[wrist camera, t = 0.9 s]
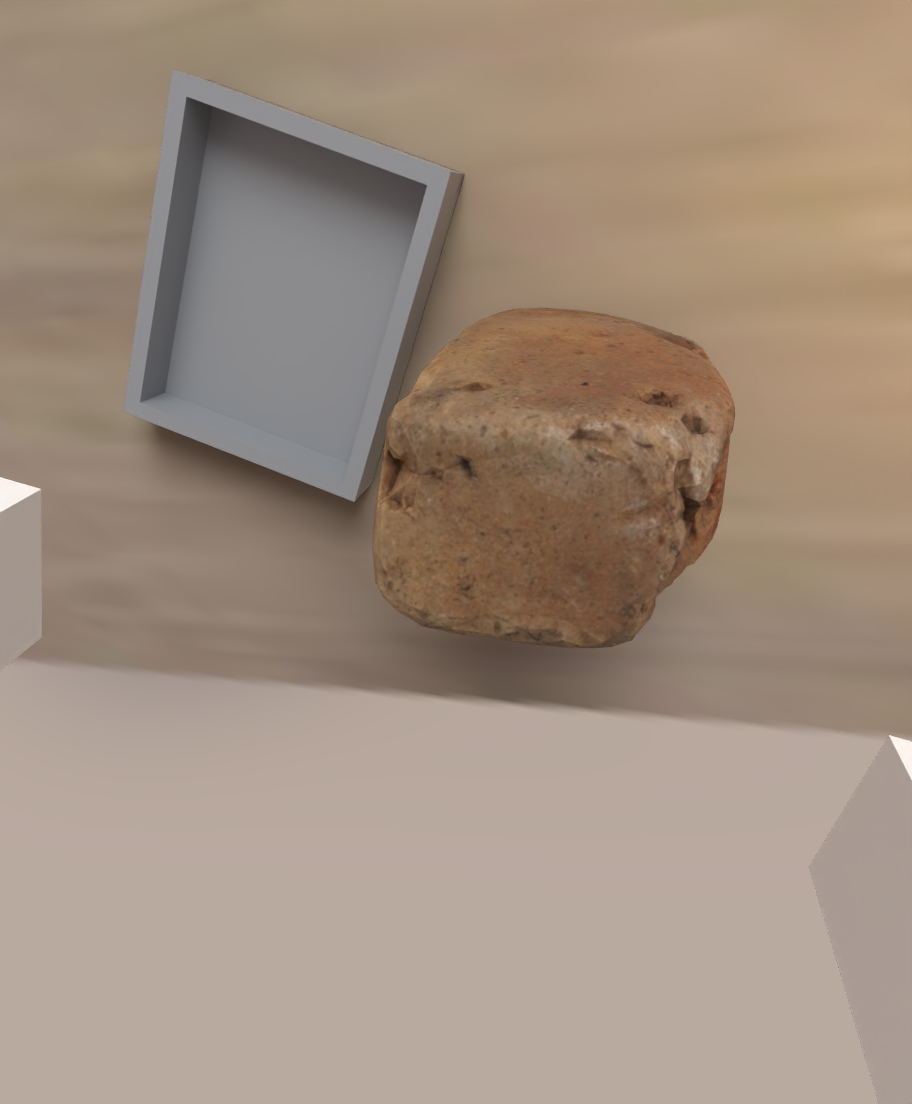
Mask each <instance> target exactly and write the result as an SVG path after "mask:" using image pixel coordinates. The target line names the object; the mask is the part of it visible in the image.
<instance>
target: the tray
mask: <svg viewBox="0 0 912 1104" xmlns="http://www.w3.org/2000/svg"><path fill="white" fill-rule="evenodd" d="M464 175H465V174H463V173H460V172H457V171H455V170H452V169H449V168H446V167H444V166H441V165H438V164H435V163H433V162H430V161H427V160H425V159H422V158H419V157H416V156H414V155H411V154H408V153H405V152H403V151H400V150H397V149H395V148H392V147H389V146H386V145H384V144H381V143H378V142H375V141H373V140H370V139H367V138H365V137H362V136H359V135H356V134H354V133H351V132H348V131H346V130H343V129H340V128H337V127H335V126H332V125H329V124H326V123H324V122H321V121H318V120H316V119H313V118H310V117H307V116H305V115H302V114H299V113H296V112H294V111H291V110H288V109H286V108H283V107H280V106H277V105H275V104H272V103H269V102H266V101H264V100H261V99H258V98H256V97H253V96H250V95H247V94H245V93H242V92H239V91H236V90H234V89H231V88H228V87H226V86H223V85H220V84H217V83H215V82H212V81H209V80H206V79H203V78H200V77H196V76H193V75H190V74H186V73H183V72H180V71H176V70H173V69H172V75H171V82H170V89H169V96H168V103H167V110H166V117H165V124H164V131H163V138H162V145H161V152H160V158H159V165H158V172H157V179H156V186H155V193H154V200H153V207H152V214H151V221H150V228H149V235H148V242H147V249H146V256H145V263H144V270H143V277H142V284H141V291H140V298H139V305H138V312H137V318H136V325H135V332H134V339H133V346H132V353H131V360H130V367H129V374H128V381H127V388H126V395H125V402H124V409H123V412H125V413H128V414H130V415H133V416H136V417H138V418H141V419H143V420H146V421H148V422H151V423H153V424H156V425H159V426H161V427H164V428H166V429H169V430H171V431H174V432H176V433H179V434H182V435H184V436H187V437H189V438H192V439H194V440H197V441H200V442H202V443H205V444H207V445H210V446H212V447H215V448H217V449H220V450H223V451H225V452H228V453H230V454H233V455H235V456H238V457H240V458H243V459H246V460H248V461H251V462H253V463H256V464H258V465H261V466H264V467H266V468H269V469H271V470H274V471H276V472H279V473H281V474H284V475H287V476H289V477H292V478H294V479H297V480H299V481H302V482H304V483H307V484H310V485H312V486H315V487H317V488H320V489H322V490H325V491H328V492H330V493H333V494H335V495H338V496H340V497H343V498H345V499H348V500H351V501H353V502H355V501H356V500H357V499H358V498H359V497H360V496H361V494H362V493H363V492H364V491H365V490H366V489H367V488H368V487H369V486H370V485H371V484H372V482H373V478H374V475H375V472H376V468H377V465H378V462H379V458H380V455H381V452H382V448H383V445H384V442H385V438H386V429H387V420H388V418H389V416H390V414H391V413H392V411H393V409H394V407H395V405H396V402H397V398H398V395H399V392H400V388H401V385H402V382H403V378H404V375H405V372H406V368H407V365H408V362H409V358H410V355H411V352H412V348H413V345H414V341H415V338H416V335H417V331H418V328H419V325H420V321H421V318H422V315H423V311H424V308H425V305H426V301H427V298H428V295H429V291H430V288H431V285H432V281H433V278H434V275H435V271H436V268H437V265H438V261H439V258H440V255H441V251H442V248H443V245H444V241H445V238H446V235H447V231H448V228H449V225H450V221H451V218H452V215H453V211H454V208H455V205H456V201H457V198H458V195H459V191H460V188H461V185H462V181H463V178H464Z"/></svg>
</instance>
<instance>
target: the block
mask: <svg viewBox="0 0 912 1104" xmlns="http://www.w3.org/2000/svg"><path fill="white" fill-rule="evenodd" d="M734 418H735V406H734V403H733V399H732V397H731V394H730V391H729V389H728V387H727V385H726V383H725V381H724V379H723V378H722V377H721V375H720V374H719V372H718V371H717V369H716V368H715V367H714V366H713V365H712V364H711V361H710V359H709V357H708V356H707V355H706V353H705V351H704V350H703V348H702V347H700V346H699V345H698V344H696V343H695V342H693V341H691V340H689V339H687V338H685V337H681V336H677V335H673V334H672V333H670V332H666V331H663V330H660V329H657V328H654V327H651V326H648V325H645V324H642V323H638V322H635V321H631V320H627V319H623V318H618V317H614V316H610V315H605V314H599V313H593V312H587V311H579V310H567V309H552V308H525V309H512V310H507V311H504V312H500V313H497V314H494V315H491V316H489V317H487V318H485V319H482V320H480V321H478V322H476V323H475V324H473V325H471V326H470V327H468V328H466V329H465V330H464V331H463V332H462V333H461V334H460V335H459V336H458V337H457V338H456V339H455V340H453V341H452V342H450V343H449V344H448V345H447V346H446V347H444V348H443V349H442V350H441V351H440V352H439V353H438V354H437V355H436V356H434V358H433V359H432V361H431V362H430V363H429V364H428V365H427V367H426V368H425V369H424V370H423V371H422V372H421V374H420V375H419V377H418V379H417V381H416V383H415V384H414V386H413V388H412V390H411V392H410V393H409V395H408V396H407V397H405V398H404V399H402V400H401V401H400V402H398V403H397V404H396V405H395V407H394V409H393V411H392V413H391V414H390V416H389V418H388V420H387V429H386V439H385V446H384V453H383V461H382V467H381V474H380V480H379V487H378V493H377V499H376V507H375V518H374V533H373V557H374V569H375V581H376V584H377V586H378V588H379V589H380V591H381V593H382V595H383V597H384V598H385V599H386V600H387V601H388V602H389V603H390V604H391V605H392V606H393V607H394V608H395V609H396V610H397V611H398V612H400V613H402V614H404V615H406V616H407V617H409V618H410V619H412V620H413V621H415V622H417V623H418V624H420V625H421V626H425V627H429V628H434V629H439V630H443V631H448V632H453V633H457V634H463V635H479V636H488V637H494V638H499V639H505V640H510V641H516V642H522V643H531V644H540V645H549V646H558V647H571V648H599V647H612V646H615V645H618V644H621V643H624V642H627V641H631V640H632V639H633V638H634V637H635V635H636V634H637V633H638V631H639V630H640V629H641V628H642V627H643V626H644V624H645V623H646V622H647V621H648V620H649V619H650V618H651V616H652V613H653V610H654V608H655V598H656V596H657V595H659V594H660V593H661V592H662V591H663V590H664V589H665V588H666V587H667V586H669V585H671V584H672V583H673V581H674V579H676V578H677V577H678V576H679V575H680V574H681V573H682V572H683V570H684V569H685V568H686V567H687V566H689V565H691V564H693V563H694V562H695V561H696V560H697V559H698V558H699V557H700V556H701V554H702V553H703V551H704V550H705V548H706V547H707V545H708V544H709V543H710V541H711V540H712V538H713V535H714V533H715V531H716V528H717V525H718V521H719V516H720V513H721V509H722V502H723V494H724V486H725V478H726V470H727V462H728V453H729V443H730V434H731V433H732V431H733V425H734Z"/></svg>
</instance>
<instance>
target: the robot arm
mask: <svg viewBox="0 0 912 1104" xmlns="http://www.w3.org/2000/svg"><path fill="white" fill-rule="evenodd" d="M41 637H42V594H41V489H38V488H35V487H32V486H28V485H25V484H21V483H18V482H14V481H11V480H7V479H4V478H1V477H0V671H1V670H2V669H4V668H5V667H6V666H7V665H9V664H10V663H11V662H12V661H13V660H15V659H16V658H17V657H18V656H19V655H21V654H22V653H23V652H24V651H25V650H27V649H28V648H29V647H30V646H31V645H33V644H34V643H35V642H36V641H38V640H39V639H40V638H41ZM809 869H810V872H811V875H812V879H813V883H814V886H815V889H816V893H817V896H818V900H819V903H820V906H821V910H822V913H823V916H824V920H825V923H826V927H827V930H828V933H829V937H830V940H831V944H832V947H833V951H834V954H835V958H836V961H837V964H838V968H839V971H840V975H841V978H842V981H843V985H844V988H845V992H846V995H847V998H848V1002H849V1005H850V1008H851V1012H852V1015H853V1019H854V1022H855V1025H856V1029H857V1032H858V1036H859V1039H860V1043H861V1046H862V1049H863V1053H864V1056H865V1060H866V1063H867V1067H868V1070H869V1073H870V1077H871V1080H872V1084H873V1087H874V1090H875V1094H876V1097H877V1101H878V1104H912V742H911V741H907V740H904V739H900V738H897V737H893V736H890V735H889V736H888V738H887V739H886V741H885V743H884V744H883V746H882V748H881V749H880V751H879V752H878V754H877V756H876V757H875V759H874V761H873V762H872V764H871V765H870V767H869V769H868V770H867V772H866V774H865V775H864V777H863V779H862V780H861V782H860V783H859V785H858V787H857V789H856V790H855V792H854V794H853V795H852V797H851V798H850V800H849V802H848V803H847V805H846V806H845V808H844V810H843V812H842V813H841V815H840V816H839V818H838V820H837V821H836V823H835V825H834V826H833V828H832V829H831V831H830V833H829V834H828V836H827V838H826V840H825V841H824V843H823V844H822V846H821V847H820V849H819V851H818V852H817V854H816V856H815V857H814V859H813V860H812V862H811V864H810V866H809Z"/></svg>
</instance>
